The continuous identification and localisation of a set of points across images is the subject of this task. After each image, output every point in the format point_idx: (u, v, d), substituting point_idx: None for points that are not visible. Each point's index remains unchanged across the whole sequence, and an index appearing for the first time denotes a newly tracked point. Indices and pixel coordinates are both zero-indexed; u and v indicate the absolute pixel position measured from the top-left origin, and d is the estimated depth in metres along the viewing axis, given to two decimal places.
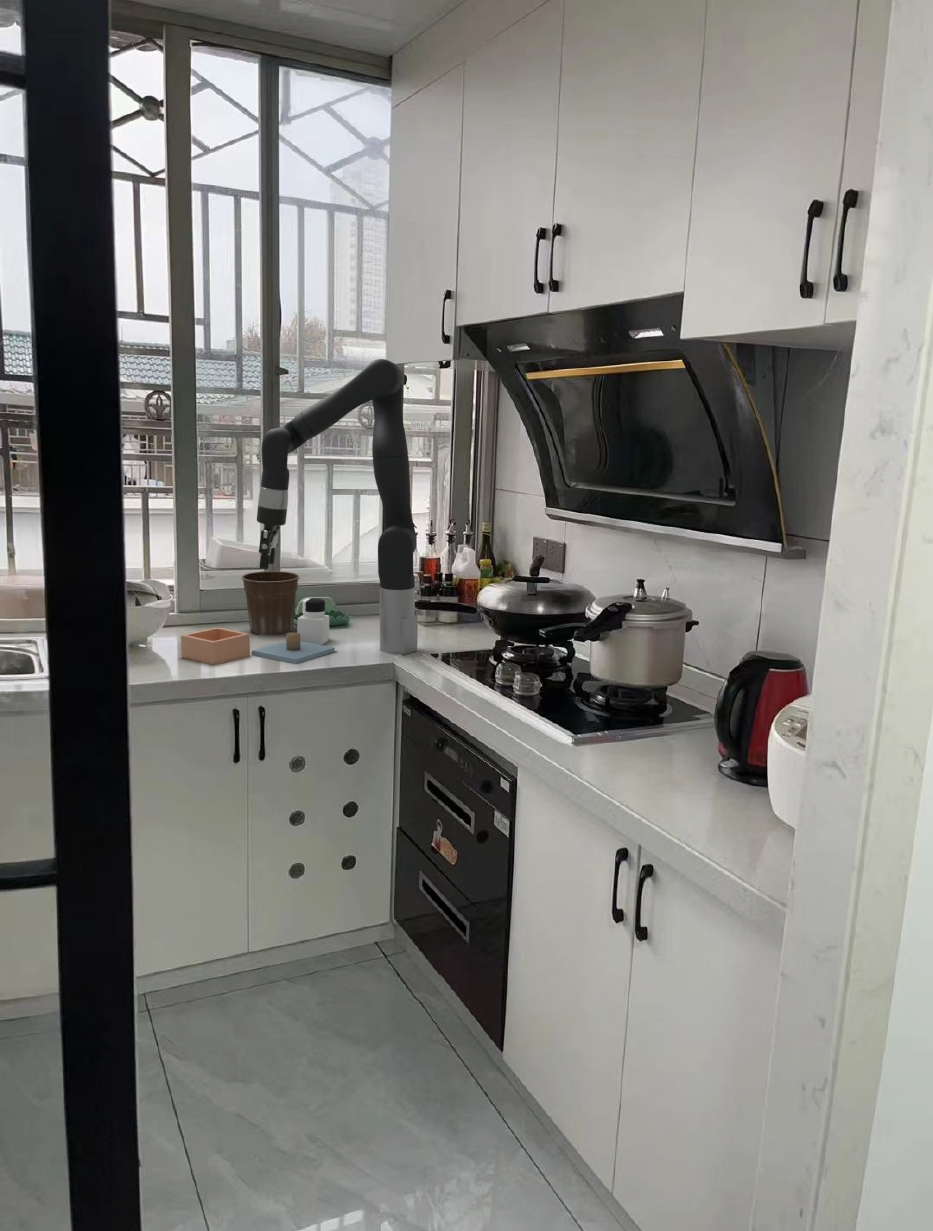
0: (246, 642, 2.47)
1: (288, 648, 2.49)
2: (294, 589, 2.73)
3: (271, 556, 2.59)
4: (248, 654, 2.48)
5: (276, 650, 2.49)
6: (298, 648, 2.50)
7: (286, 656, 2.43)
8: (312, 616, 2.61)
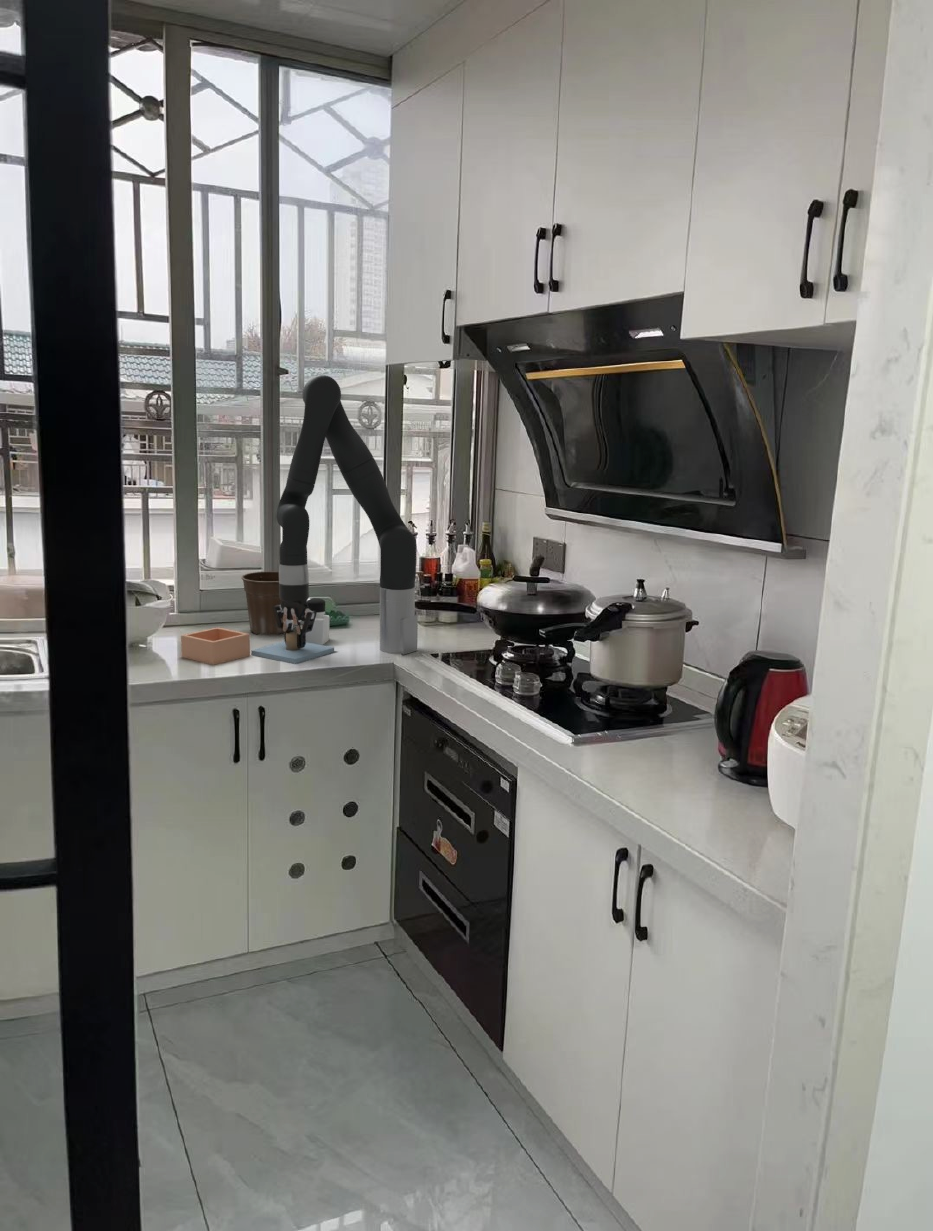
0: (246, 642, 2.47)
1: (288, 648, 2.50)
2: None
3: None
4: (248, 654, 2.48)
5: (276, 650, 2.49)
6: (298, 648, 2.50)
7: (286, 656, 2.44)
8: None
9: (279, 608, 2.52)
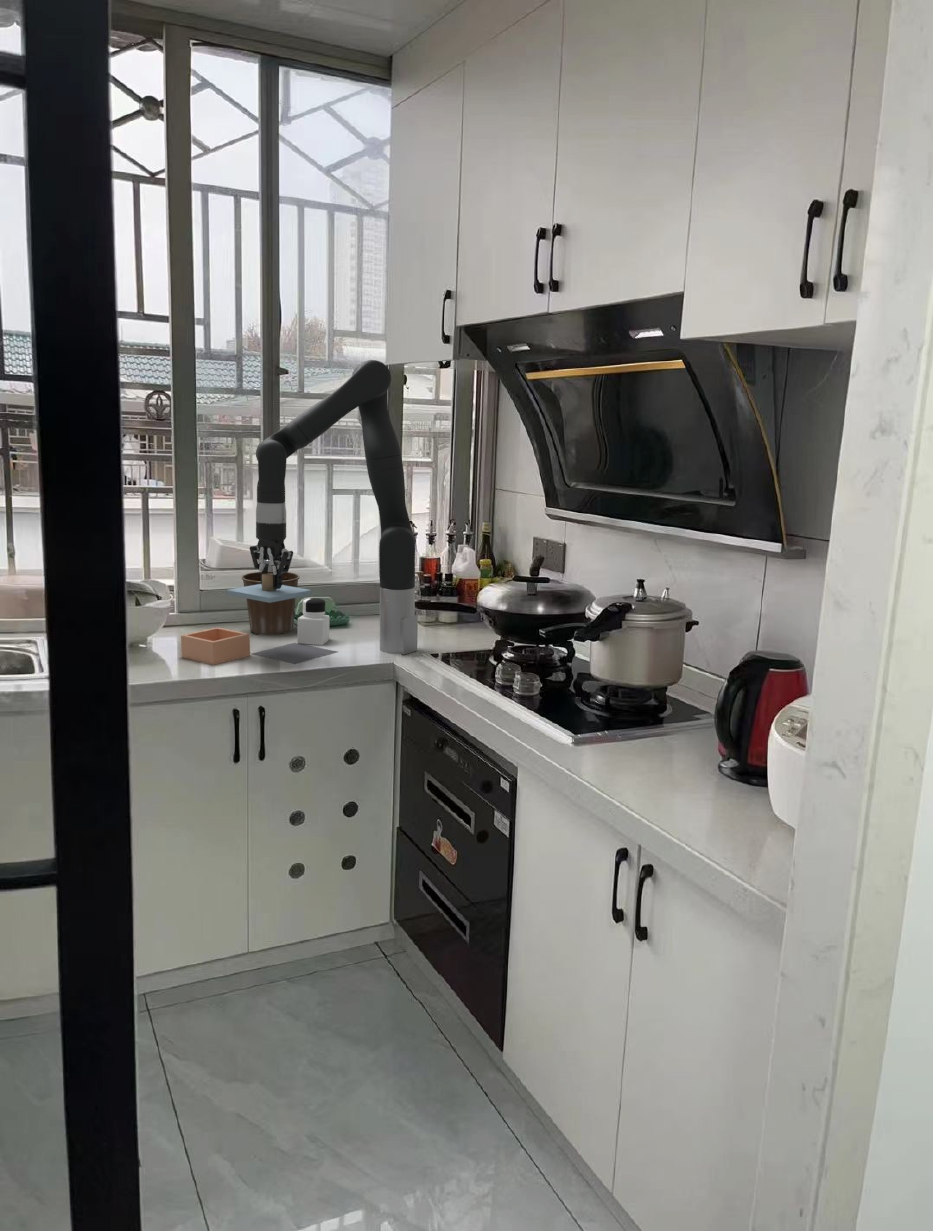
0: (246, 642, 2.47)
1: (263, 588, 2.45)
2: None
3: None
4: (248, 654, 2.48)
5: (251, 590, 2.45)
6: (274, 589, 2.46)
7: (261, 595, 2.39)
8: (312, 616, 2.61)
9: (256, 548, 2.48)
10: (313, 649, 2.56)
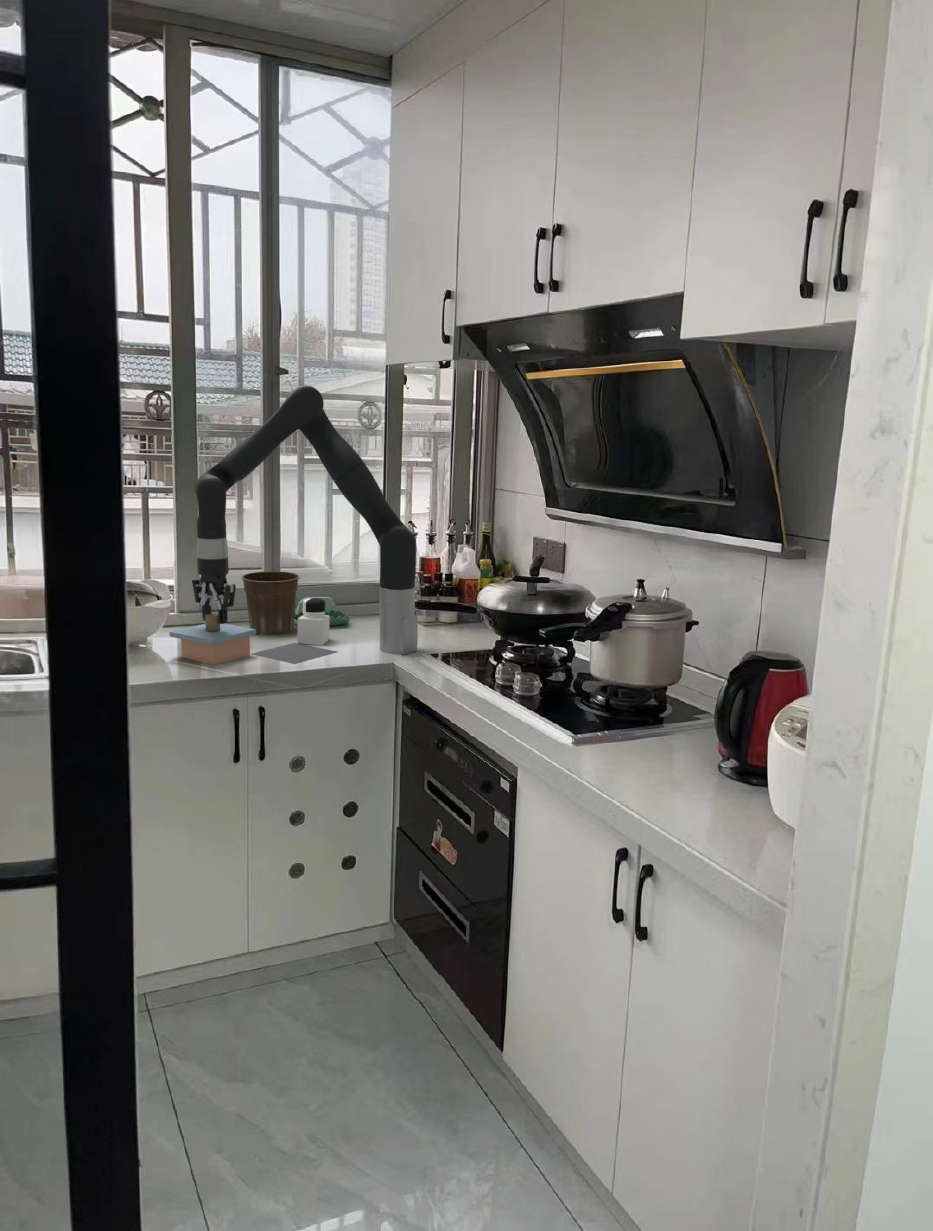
0: (246, 642, 2.47)
1: (207, 629, 2.44)
2: (294, 589, 2.73)
3: (209, 612, 2.47)
4: (248, 654, 2.48)
5: (195, 631, 2.43)
6: (217, 629, 2.44)
7: (203, 637, 2.38)
8: (312, 616, 2.61)
9: (198, 582, 2.46)
10: (313, 649, 2.56)
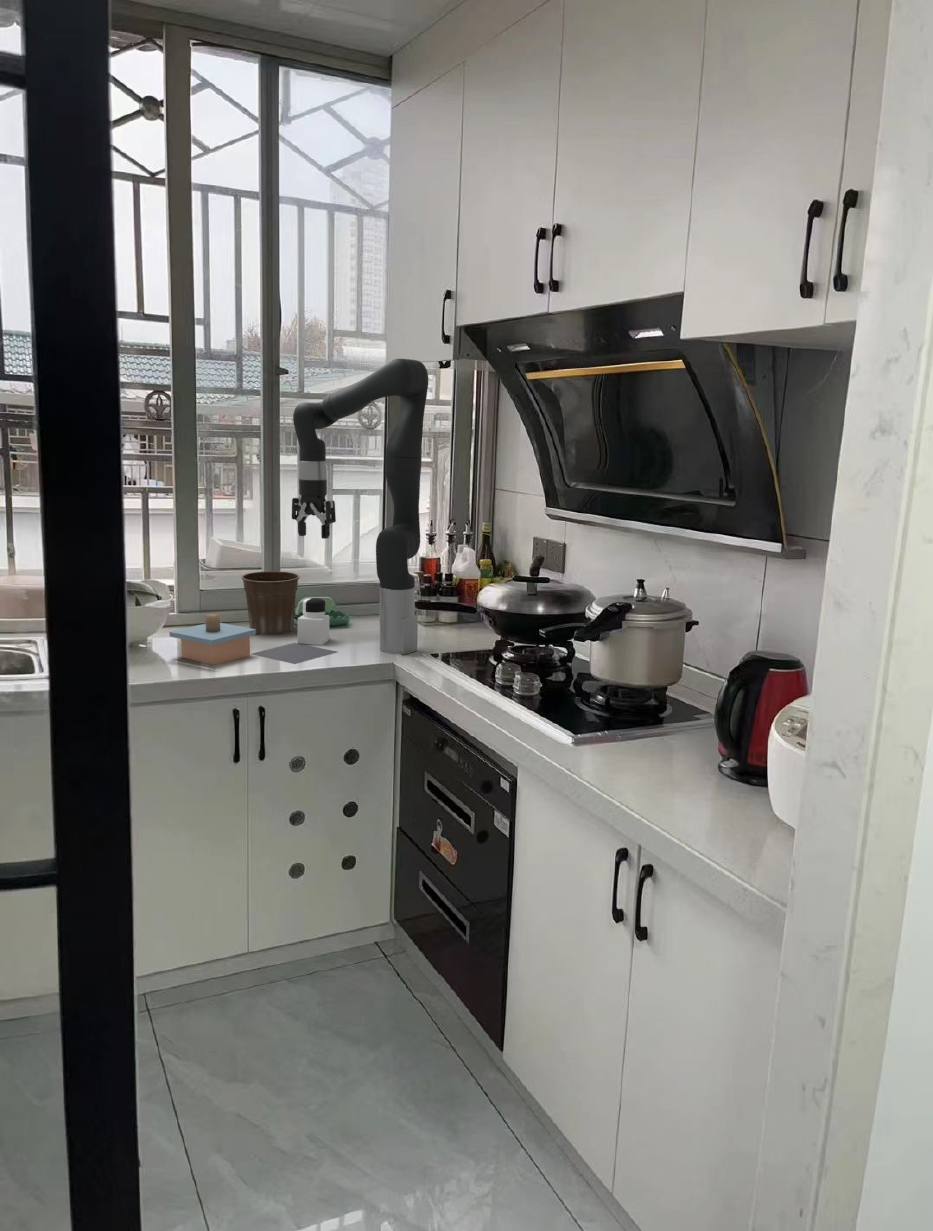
0: (246, 642, 2.47)
1: (207, 629, 2.44)
2: (294, 589, 2.73)
3: (304, 528, 2.68)
4: (248, 654, 2.48)
5: (195, 631, 2.43)
6: (217, 629, 2.44)
7: (203, 637, 2.38)
8: (312, 616, 2.61)
9: (298, 501, 2.67)
10: (313, 649, 2.56)
